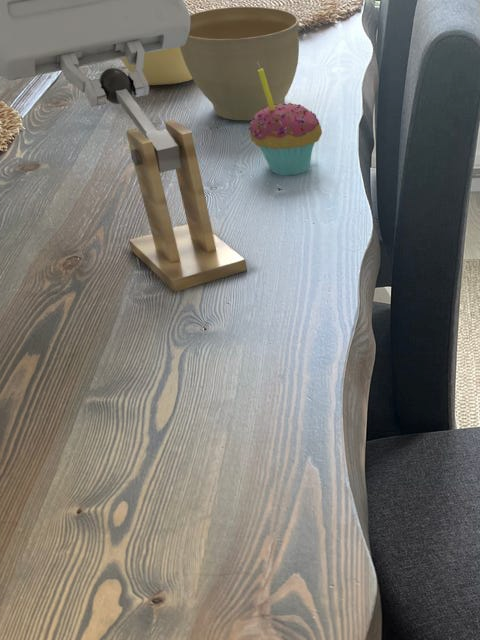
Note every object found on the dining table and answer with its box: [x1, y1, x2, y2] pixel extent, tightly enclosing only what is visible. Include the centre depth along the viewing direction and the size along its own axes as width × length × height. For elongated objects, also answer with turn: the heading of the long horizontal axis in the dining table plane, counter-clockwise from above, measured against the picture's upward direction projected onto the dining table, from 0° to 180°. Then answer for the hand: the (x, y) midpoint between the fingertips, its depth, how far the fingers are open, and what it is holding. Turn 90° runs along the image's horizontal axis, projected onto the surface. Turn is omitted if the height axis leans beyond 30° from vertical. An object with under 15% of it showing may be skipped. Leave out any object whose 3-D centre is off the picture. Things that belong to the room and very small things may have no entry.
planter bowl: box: [180, 6, 300, 122], centre depth 135 cm, size 16×16×11 cm
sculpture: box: [120, 47, 193, 86], centre depth 146 cm, size 12×12×11 cm
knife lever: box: [98, 67, 181, 174], centre depth 100 cm, size 14×3×3 cm, turn 34°
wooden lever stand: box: [125, 119, 248, 293], centre depth 101 cm, size 12×8×13 cm, turn 35°
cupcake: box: [248, 62, 323, 176], centre depth 120 cm, size 9×8×12 cm
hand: (121, 97), depth 102 cm, fingers closed on knife lever, 3 cm apart
